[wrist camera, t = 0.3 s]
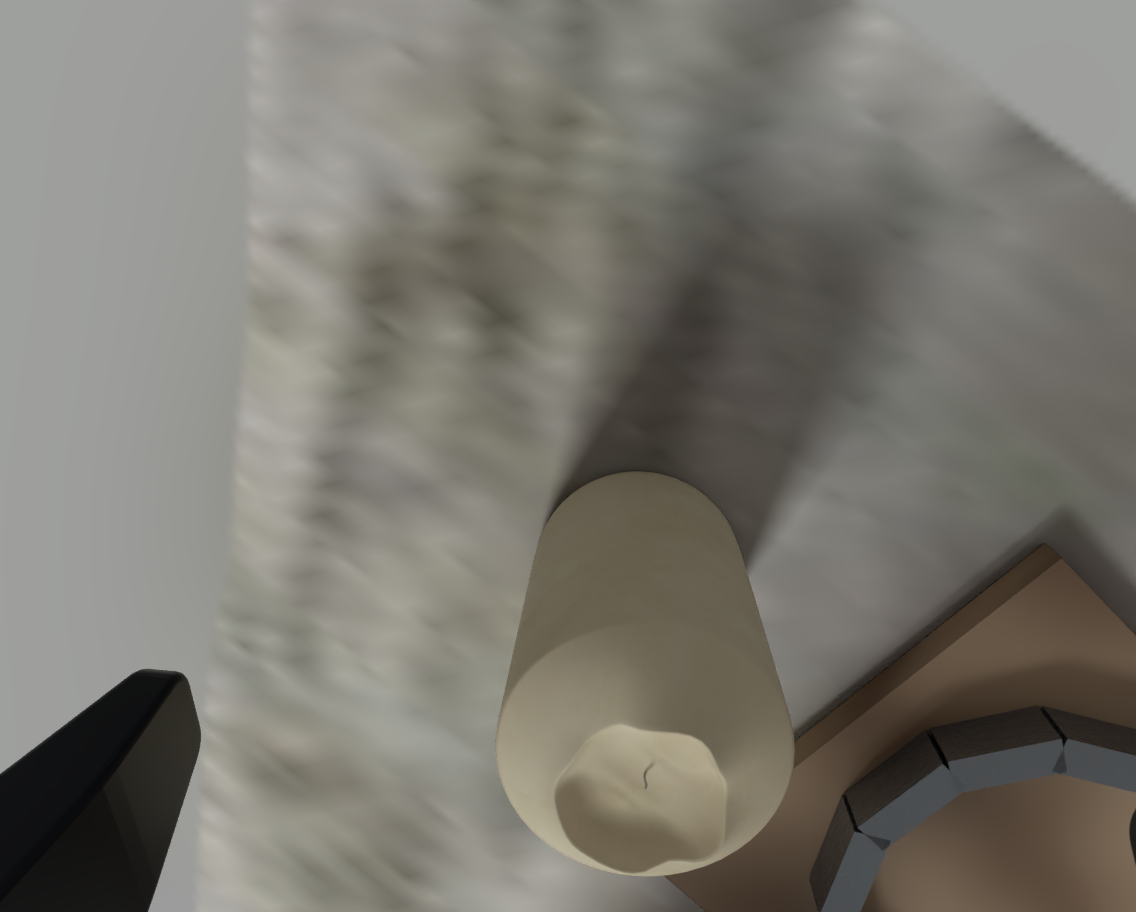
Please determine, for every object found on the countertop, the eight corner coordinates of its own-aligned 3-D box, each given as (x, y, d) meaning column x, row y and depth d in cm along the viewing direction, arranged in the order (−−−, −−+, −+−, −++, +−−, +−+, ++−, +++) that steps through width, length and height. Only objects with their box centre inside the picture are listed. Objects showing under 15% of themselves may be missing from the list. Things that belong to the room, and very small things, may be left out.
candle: (630, 425, 24) (635, 597, 15) (783, 559, 25) (880, 801, 16) (493, 570, 26) (418, 811, 16) (642, 691, 27) (654, 987, 17)
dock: (963, 1109, 31) (992, 1190, 28) (659, 848, 28) (662, 912, 26) (1354, 865, 27) (1424, 933, 25) (1045, 543, 25) (1089, 584, 22)
